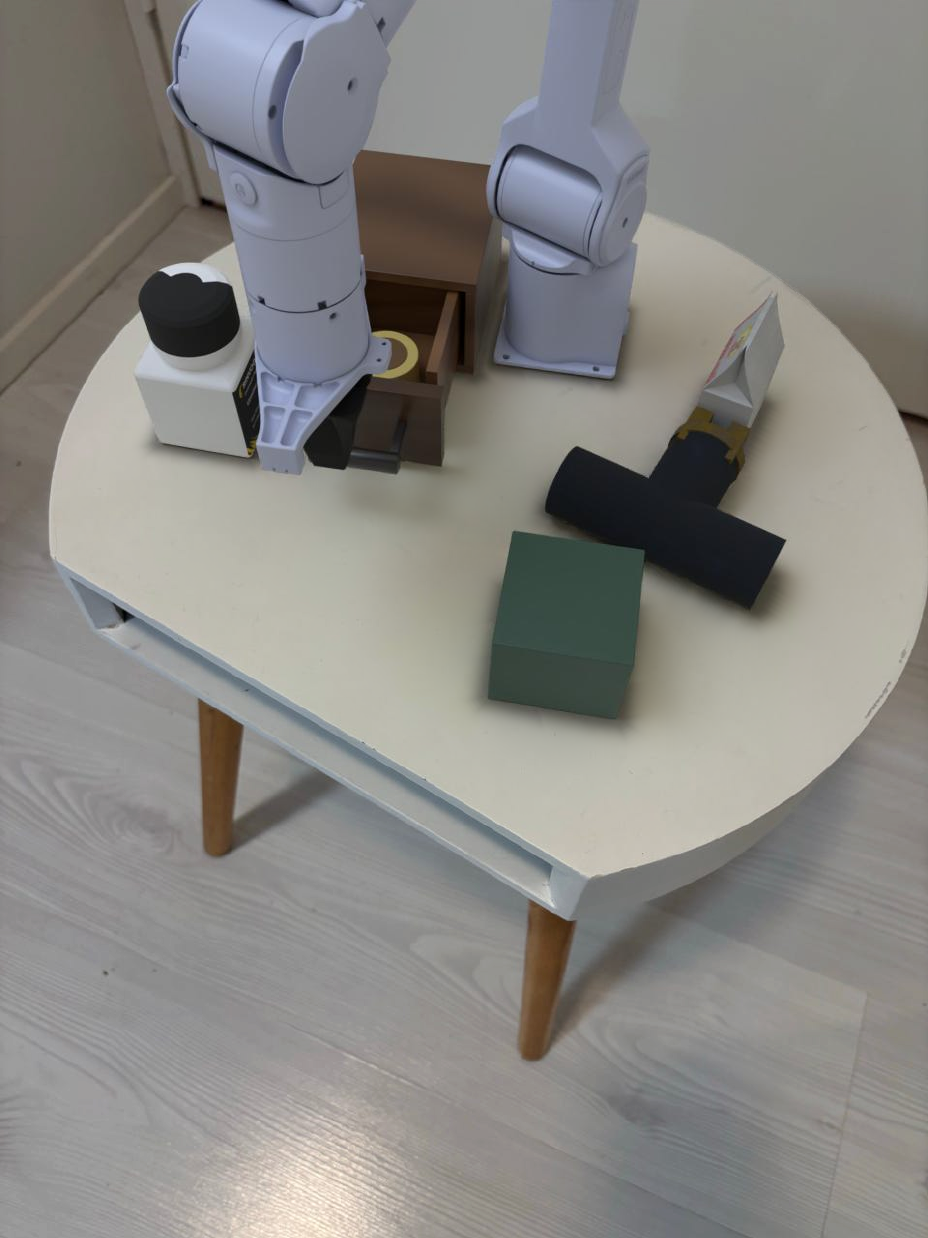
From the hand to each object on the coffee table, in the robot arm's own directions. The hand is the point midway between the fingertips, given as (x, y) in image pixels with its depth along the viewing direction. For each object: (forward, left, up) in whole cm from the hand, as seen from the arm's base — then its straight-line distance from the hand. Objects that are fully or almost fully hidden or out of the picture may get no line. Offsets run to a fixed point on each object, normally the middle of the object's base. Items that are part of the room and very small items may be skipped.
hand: (331, 459), depth 58 cm
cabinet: (0, -25, -9) cm, 26 cm away
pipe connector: (-22, -7, -10) cm, 25 cm away
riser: (-15, +5, -9) cm, 19 cm away
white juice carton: (-25, -16, -10) cm, 31 cm away
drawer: (0, -12, -8) cm, 14 cm away
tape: (0, -14, -7) cm, 15 cm away
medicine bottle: (+12, -10, -10) cm, 18 cm away
